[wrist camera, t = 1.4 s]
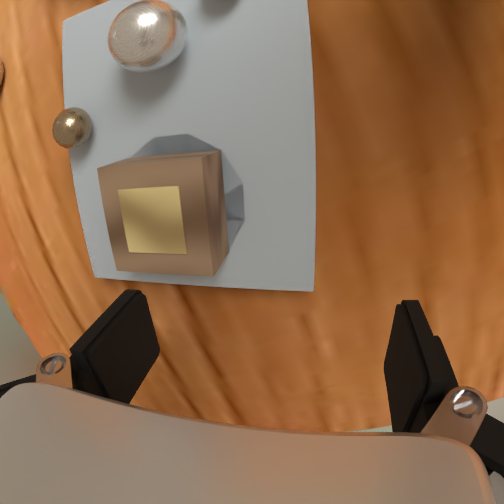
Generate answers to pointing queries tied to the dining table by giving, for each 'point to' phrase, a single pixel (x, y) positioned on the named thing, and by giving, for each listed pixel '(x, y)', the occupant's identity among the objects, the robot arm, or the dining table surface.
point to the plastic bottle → (1, 71)
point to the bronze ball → (72, 127)
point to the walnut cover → (166, 213)
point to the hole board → (209, 130)
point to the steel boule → (147, 36)
